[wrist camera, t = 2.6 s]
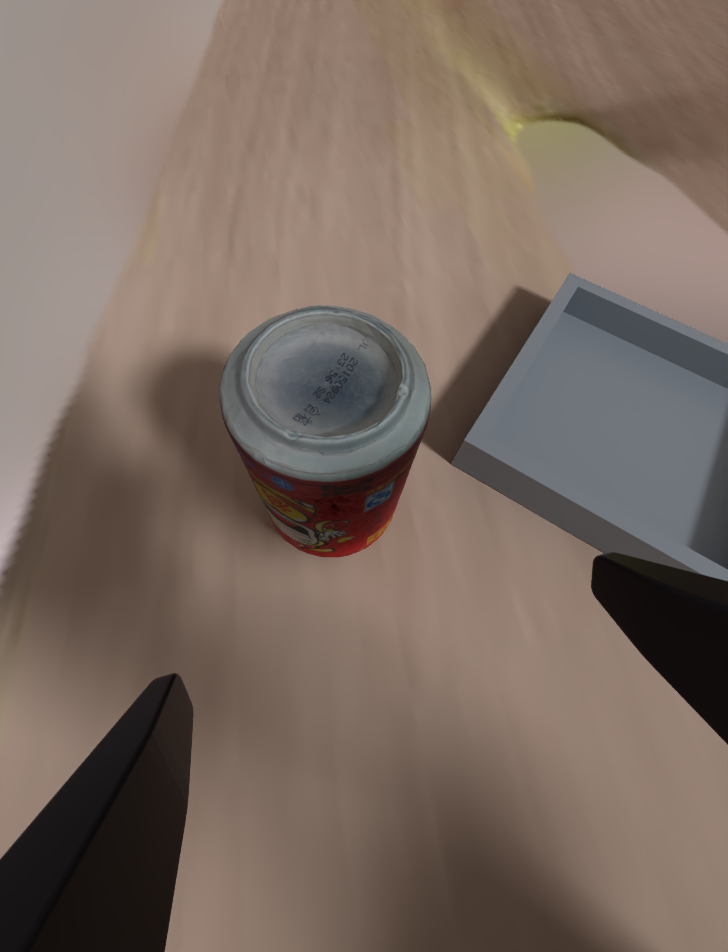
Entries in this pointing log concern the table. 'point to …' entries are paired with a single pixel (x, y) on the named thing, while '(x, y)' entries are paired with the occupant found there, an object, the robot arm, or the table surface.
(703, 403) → the slate tray
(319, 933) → the table surface
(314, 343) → the soda can
